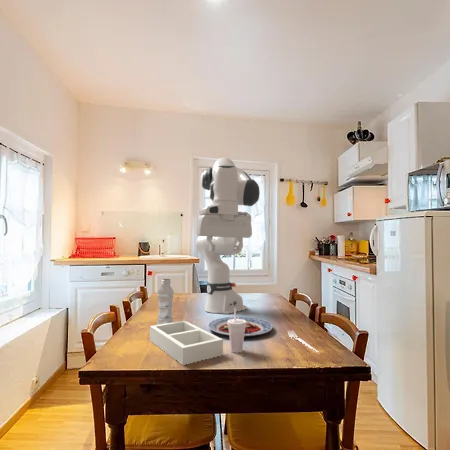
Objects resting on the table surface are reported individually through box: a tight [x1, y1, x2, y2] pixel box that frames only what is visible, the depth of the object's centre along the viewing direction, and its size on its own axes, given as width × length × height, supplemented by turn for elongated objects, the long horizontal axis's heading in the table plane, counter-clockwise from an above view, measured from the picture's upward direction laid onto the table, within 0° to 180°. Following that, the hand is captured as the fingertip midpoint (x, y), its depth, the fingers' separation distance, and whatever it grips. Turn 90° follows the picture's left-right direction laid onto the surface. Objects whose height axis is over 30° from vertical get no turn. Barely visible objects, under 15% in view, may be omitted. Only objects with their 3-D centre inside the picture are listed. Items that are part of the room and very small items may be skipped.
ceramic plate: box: [208, 316, 273, 338], centre depth 125 cm, size 26×26×3 cm
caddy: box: [149, 320, 224, 366], centre depth 105 cm, size 26×14×5 cm, turn 34°
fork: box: [287, 330, 319, 353], centre depth 110 cm, size 3×20×2 cm, turn 16°
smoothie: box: [227, 308, 247, 354], centre depth 102 cm, size 6×6×14 cm
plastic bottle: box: [156, 278, 174, 325], centre depth 126 cm, size 6×7×20 cm
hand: (224, 250), depth 108 cm, fingers open, 8 cm apart
